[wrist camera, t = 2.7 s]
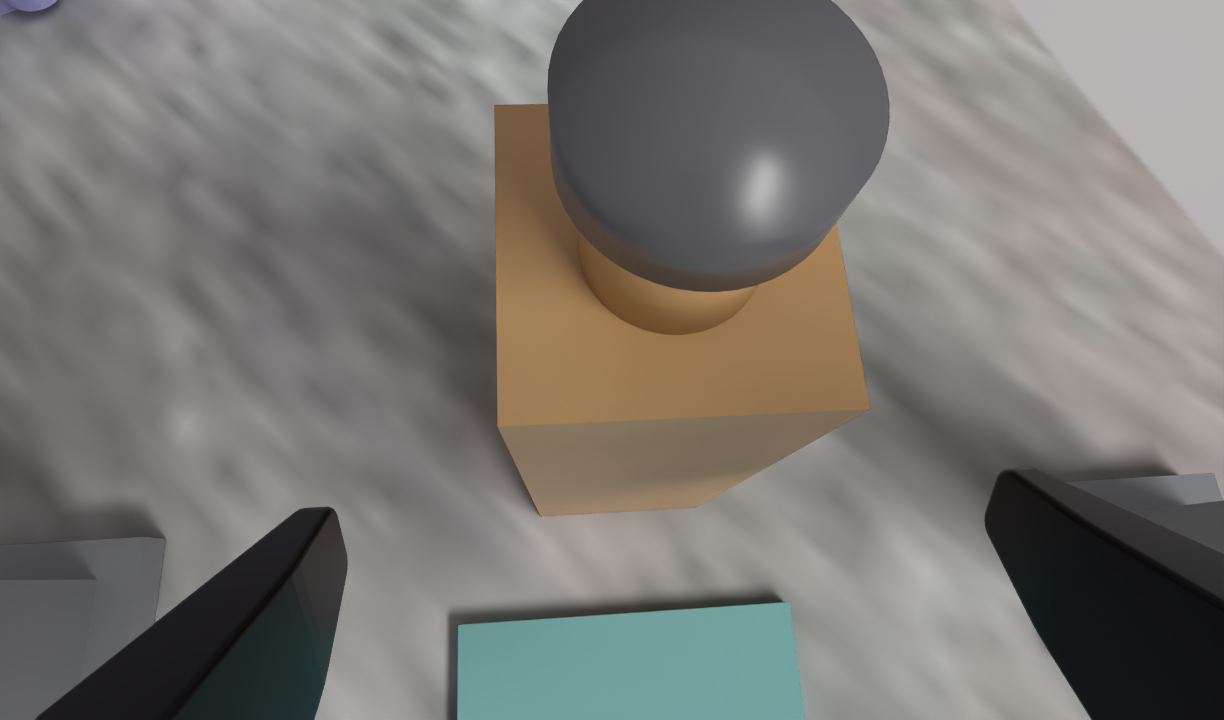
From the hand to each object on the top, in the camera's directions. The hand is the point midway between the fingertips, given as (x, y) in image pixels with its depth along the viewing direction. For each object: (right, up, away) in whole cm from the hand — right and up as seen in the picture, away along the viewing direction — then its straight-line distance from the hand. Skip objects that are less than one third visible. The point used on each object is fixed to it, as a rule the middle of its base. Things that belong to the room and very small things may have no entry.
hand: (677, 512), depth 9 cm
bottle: (-1, 0, +11) cm, 11 cm away
